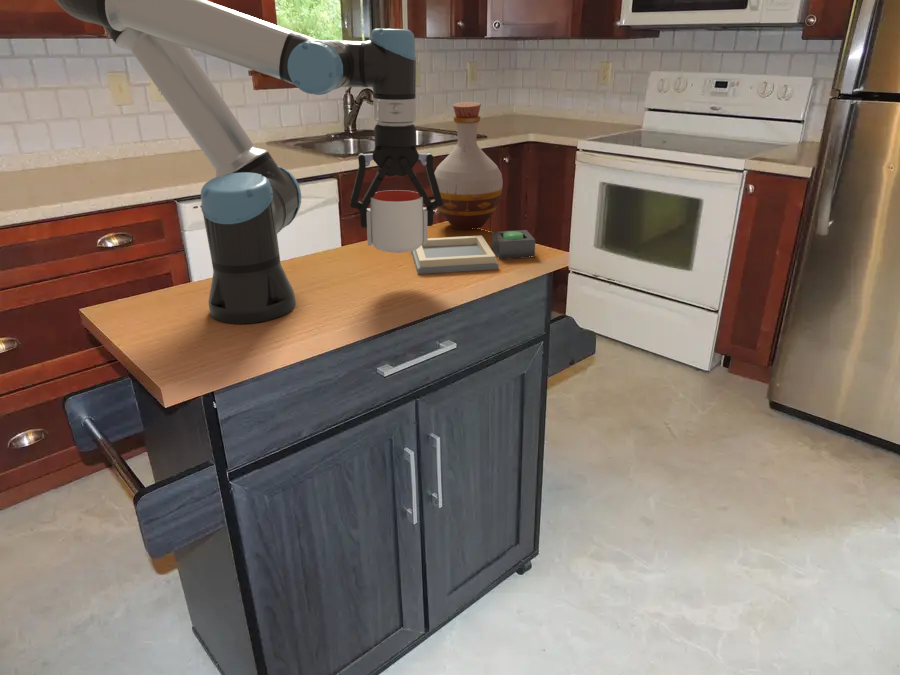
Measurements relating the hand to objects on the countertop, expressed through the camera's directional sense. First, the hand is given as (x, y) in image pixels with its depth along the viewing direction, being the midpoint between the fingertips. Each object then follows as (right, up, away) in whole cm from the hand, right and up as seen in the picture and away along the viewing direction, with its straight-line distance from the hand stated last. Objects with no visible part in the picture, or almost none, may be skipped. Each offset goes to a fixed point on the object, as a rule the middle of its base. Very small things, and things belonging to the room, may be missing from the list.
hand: (397, 242), depth 129 cm
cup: (0, -1, 0) cm, 1 cm away
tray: (+11, -1, +18) cm, 21 cm away
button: (+24, +2, +20) cm, 32 cm away
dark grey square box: (+24, +1, +21) cm, 32 cm away
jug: (+15, +11, +44) cm, 48 cm away
